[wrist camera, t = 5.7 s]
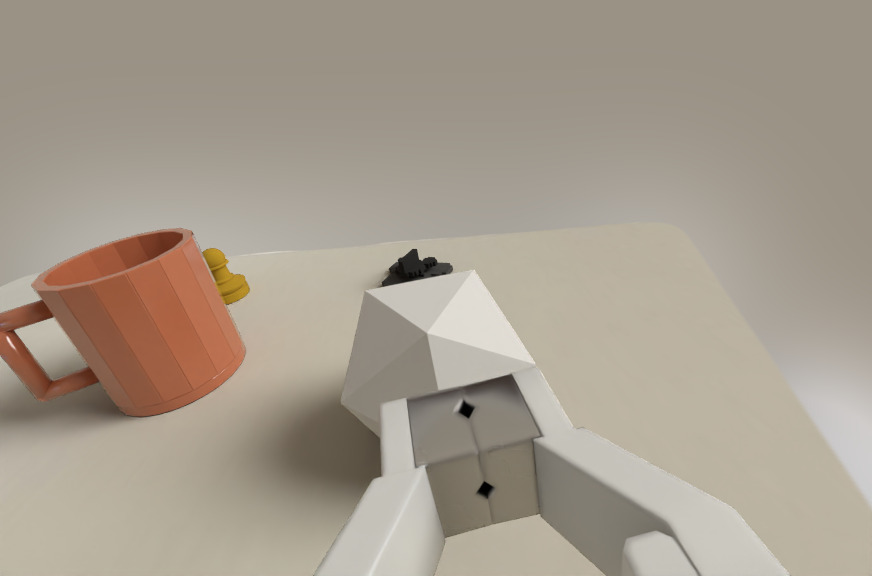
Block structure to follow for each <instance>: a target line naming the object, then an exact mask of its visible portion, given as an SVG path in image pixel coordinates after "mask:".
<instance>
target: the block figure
mask: <svg viewBox="0 0 872 576" xmlns="http://www.w3.org/2000/svg"><path fill="white" fill-rule="evenodd" d="M389 270H390V272H391V275H390V276H388V277H387V278H386V279H385V280H384V281H383V282H382V284H383V287H385V286H391V285H396V284H401V283H406V282H411V281H416V280H421V279H427V278H432V277H437V276H442V275H447V274H450V273H451V272H452V270H453V267H452V266H450V263H437V260H436V259H435V257H428V258H425V259H424V260H423V261H421V260H419V257H418V252H417V249H412V250H411V251H410V252H409V253H408V254H406V255H405V256H404V257H403V258H399V259H398V262H396V263H395V264H393V265H392V266H391V267H390V268H389Z"/></svg>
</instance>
